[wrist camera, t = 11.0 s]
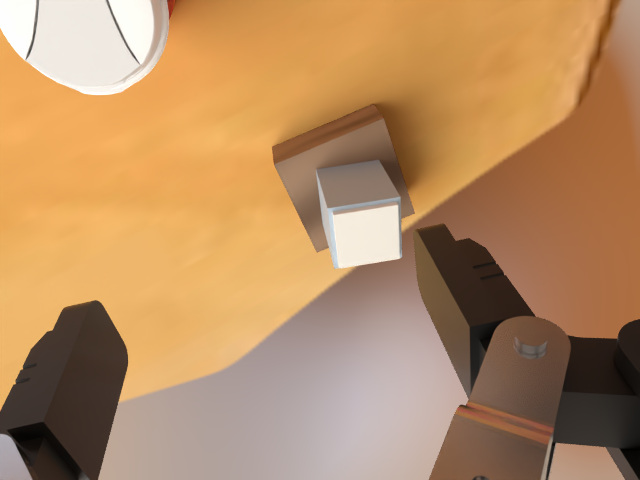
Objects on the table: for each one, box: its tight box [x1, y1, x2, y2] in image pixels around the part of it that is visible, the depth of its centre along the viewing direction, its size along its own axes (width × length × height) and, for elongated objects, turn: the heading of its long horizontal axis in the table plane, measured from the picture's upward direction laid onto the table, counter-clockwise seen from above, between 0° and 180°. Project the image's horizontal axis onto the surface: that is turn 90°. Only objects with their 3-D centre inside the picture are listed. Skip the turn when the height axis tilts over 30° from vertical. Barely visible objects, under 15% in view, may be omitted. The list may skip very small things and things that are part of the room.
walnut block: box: [272, 104, 415, 252], centre depth 42 cm, size 9×9×4 cm
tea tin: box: [316, 160, 402, 269], centre depth 37 cm, size 5×5×7 cm
